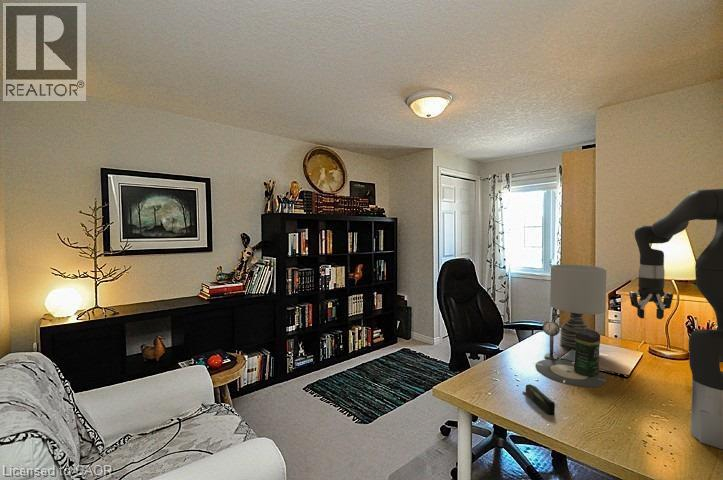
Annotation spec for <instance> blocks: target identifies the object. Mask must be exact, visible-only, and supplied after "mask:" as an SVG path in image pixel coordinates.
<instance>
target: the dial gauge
mask: <svg viewBox="0 0 723 480" xmlns="http://www.w3.org/2000/svg"><path fill="white" fill-rule="evenodd" d="M542 330H543V332H544V333H545V334H546V335H548V336H549V352H546V353H545V355H544V359H545V360H547V359H552V360H557V359H558V358H559V355H557V354H554V339H555V338H554V337H555V336H557V335H558V334H559V333H560V332H561V326H560V325H559V324H558V323H557V322H556V321H553V320H547V321H545V322H544V323H543V324H542ZM558 360H559V359H558Z"/></svg>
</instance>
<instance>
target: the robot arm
mask: <svg viewBox="0 0 723 480" xmlns="http://www.w3.org/2000/svg"><path fill="white" fill-rule="evenodd" d="M695 220H698V221H699V220H700V221H714V220H716V226H715V232H714V236H713V238H712V239H711V242H709V244H708V245H707V246H706V247H705V248H704V249H703V251H702V252H701V254H700V255H699V256H698V258H697V260H696V261H695V267H694V271H695V284H696V287H697V290H698V291H699V292H700V293H701V295H702V297H704V298H705V300H706V301H707V302H708V303H709V305H710V306H711V308H712V309H713V311H714V314H715V317H716V329H704V328H703V329H700V328H699V329H694V330H693V331H692V332H691V333H690V335H689V339H688V355H689V357H688V358H689V368H690V372H691V377H692V380H691V407H690V434H691V436H692V437H694V438H695V439H697V440H698V441H699V443H701V444H703V445H708V446H710V447H714V448H717V449H720V450H723V371H722V370H721V363H723V188H717V189H716V188H712V189H707V188H706V189H698V190H694V191H692V192H691V193H688V195H687V196H685V197H684V198H683V199H682V200H681V201H680V202H679V203H678V204H677V205H675V207H674V208H673V209H672V210H670V212H668V214H666V215H665V216H662V217H661V218H659V219H657V220H656V221H655V222H653V223H652V225H639V226H638V227H637V228H635V231H634V239H635V241H636V245H637V248H638V251H639V267H638V283H637V285H638V289H637V291H629V292H628V293H629V294H628V295H629V300H630V303H631V306H632V307H634V308H637V309H636V310H637V311H636V315H637V316H638V318H639V319H641V320H643V319H645V307H646V305H648V304H649V303H653V304H655V306H656V319H658V320H663V318H664V317H665V310H667V309H671V306H672V301H673V297H674V294H673V293H670V292H667V291H666V292H665V291H664V288H665V275H666V274H665V253H664V251H663V250H661V249H656V248H652V247H651V246H650V244H666V243H668V242H670V241H671V240H672V238H673V236H675V235H677V234H679V233H681V232H683V231H685V230H686V229H687V228H688V226H689V224H690V223H689V221H695ZM638 297H639V299H638ZM662 298H663V299H662Z"/></svg>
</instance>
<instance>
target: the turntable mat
mask: <svg viewBox="0 0 723 480" xmlns="http://www.w3.org/2000/svg"><path fill="white" fill-rule="evenodd" d="M569 361H570V360H565V359H557V360H552V359H542V360H539V361H537V362H536V363H535V364H534V365H535V366H534V367H535V370H536V371H537V372H538V373H540V374H541V375H542V376H544V377H546V378H548V379H550V380H551V381H555V382H558V383H561V384H565V385H569V386H572V387H573V386H575V387H581V388H582V387H583V388H596V387H597V388H598V387H601V386H603V385H605V384H606V383H607V378H606V376H605V375H604V374H603V373H602V372H600V371H599V374H598V375H596V376H593V377H589V376H583V375H581V374H579V373H577V372H576V371H575V370H574V362H575V361H572V362H569Z"/></svg>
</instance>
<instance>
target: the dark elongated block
mask: <svg viewBox="0 0 723 480" xmlns="http://www.w3.org/2000/svg"><path fill="white" fill-rule="evenodd" d="M522 394H523V395H525V396H526V397H527V398H528V399H529V400H530V401H532V402H533V403H534V404H535V405H536V406H537V407H538V408H539V409H540V410H541V411H542V412H544V413H545V414H546V415H549V416H554V415H555V413H556V412H555V411H556V410H555V407H556V403H555V401H553V400H552V399H550V398H549V397H548V396H547V395H546V394H544V393H543V392H542V391H541V390H540V389H539V388H538V387H537V386H534V385H532V384H526V385H525V391H524V390H522Z"/></svg>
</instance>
